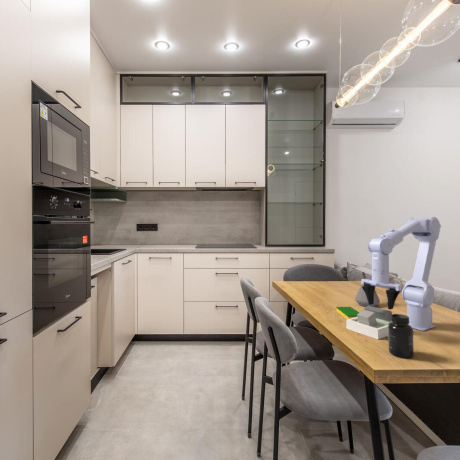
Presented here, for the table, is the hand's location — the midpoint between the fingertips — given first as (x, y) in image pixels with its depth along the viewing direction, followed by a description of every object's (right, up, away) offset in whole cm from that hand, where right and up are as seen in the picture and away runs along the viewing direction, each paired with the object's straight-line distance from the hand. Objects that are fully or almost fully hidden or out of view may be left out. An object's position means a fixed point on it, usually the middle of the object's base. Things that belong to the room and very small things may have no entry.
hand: (380, 306), depth 106 cm
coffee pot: (+16, -10, +44) cm, 48 cm away
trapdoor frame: (-1, -10, +4) cm, 11 cm away
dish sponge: (-2, -11, +23) cm, 26 cm away
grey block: (-4, -8, +2) cm, 9 cm away
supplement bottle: (-3, -11, -17) cm, 20 cm away
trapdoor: (-1, -8, +4) cm, 9 cm away
